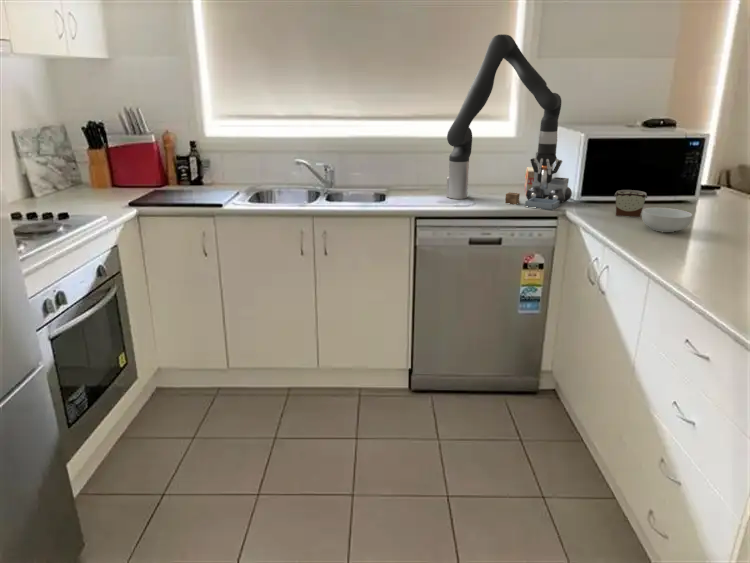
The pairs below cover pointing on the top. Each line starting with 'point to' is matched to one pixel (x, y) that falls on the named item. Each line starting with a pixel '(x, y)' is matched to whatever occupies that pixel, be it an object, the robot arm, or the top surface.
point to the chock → (512, 198)
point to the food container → (629, 202)
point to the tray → (542, 203)
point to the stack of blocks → (529, 178)
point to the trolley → (550, 189)
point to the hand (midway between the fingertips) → (544, 182)
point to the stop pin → (544, 178)
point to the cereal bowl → (666, 219)
